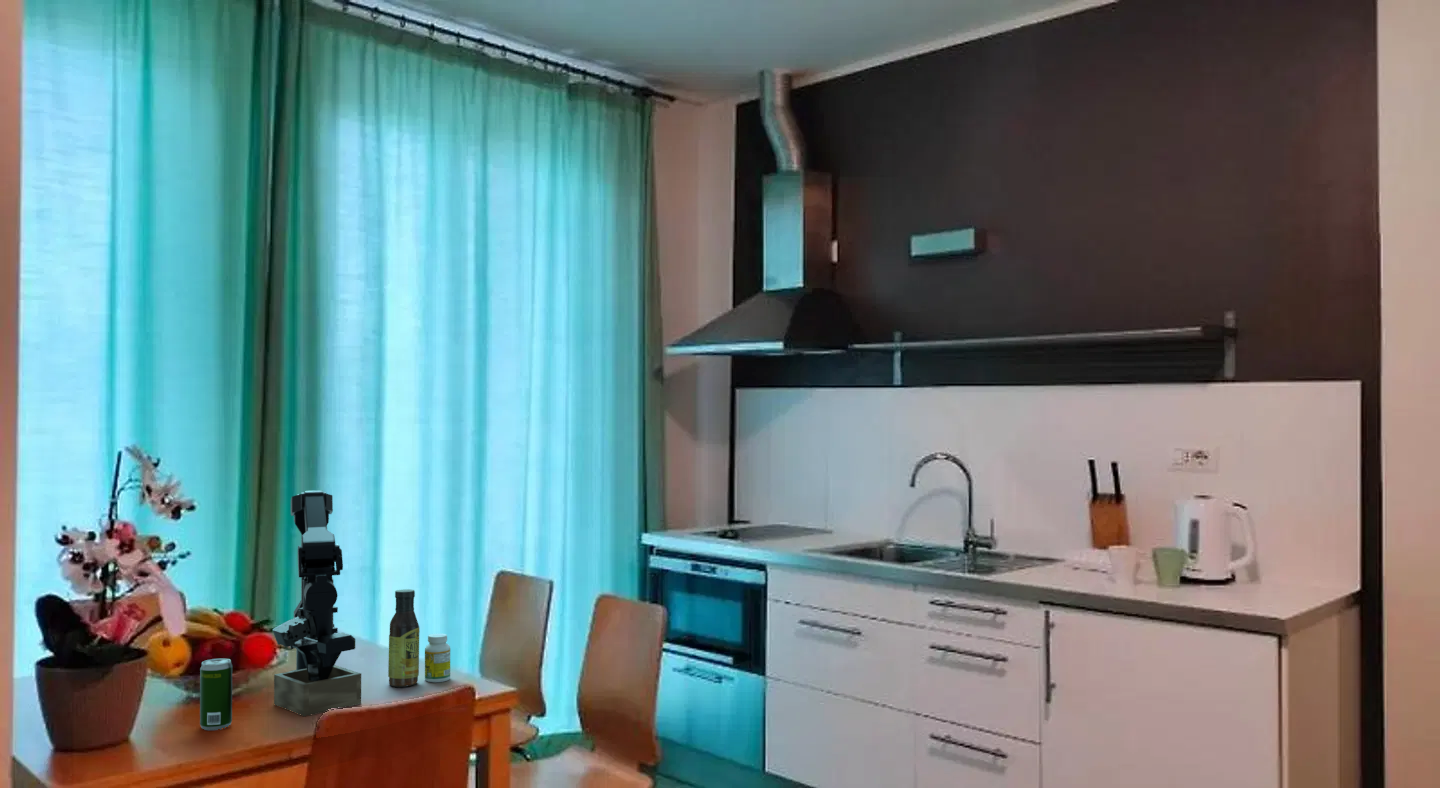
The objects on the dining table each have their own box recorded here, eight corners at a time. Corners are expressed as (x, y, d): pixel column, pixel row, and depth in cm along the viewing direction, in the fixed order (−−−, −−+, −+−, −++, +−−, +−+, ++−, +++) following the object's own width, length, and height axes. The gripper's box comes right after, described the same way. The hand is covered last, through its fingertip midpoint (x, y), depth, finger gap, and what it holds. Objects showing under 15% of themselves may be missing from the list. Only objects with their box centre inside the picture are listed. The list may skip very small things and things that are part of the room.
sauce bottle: (410, 688, 230) (410, 593, 230) (382, 687, 231) (382, 592, 231) (424, 681, 236) (424, 588, 236) (397, 679, 238) (398, 587, 238)
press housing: (274, 704, 218) (274, 674, 218) (330, 692, 227) (330, 663, 227) (303, 716, 210) (304, 685, 210) (361, 703, 219) (361, 673, 219)
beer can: (232, 728, 202) (232, 663, 202) (200, 732, 200) (200, 666, 200) (231, 720, 207) (231, 657, 207) (199, 724, 205) (200, 659, 205)
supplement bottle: (452, 681, 236) (452, 636, 236) (426, 683, 234) (426, 638, 234) (448, 675, 241) (448, 631, 241) (423, 677, 239) (423, 633, 239)
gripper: (256, 602, 219) (256, 681, 218) (302, 614, 206) (302, 698, 206) (309, 594, 227) (309, 670, 227) (357, 606, 214) (356, 686, 214)
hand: (317, 681), depth 218 cm, fingers closed on plunger, 4 cm apart
